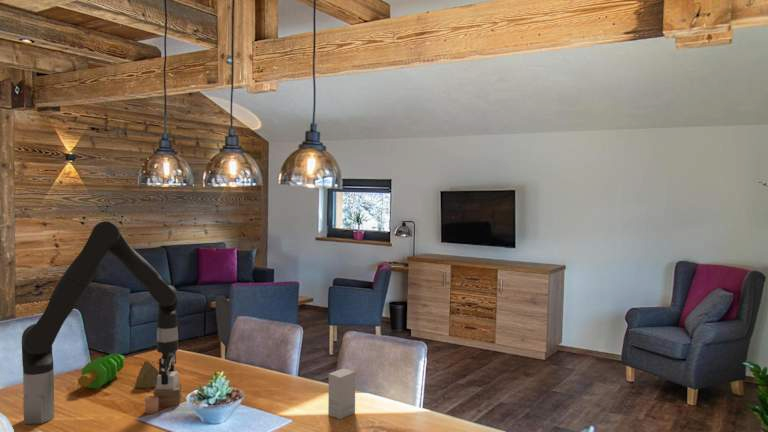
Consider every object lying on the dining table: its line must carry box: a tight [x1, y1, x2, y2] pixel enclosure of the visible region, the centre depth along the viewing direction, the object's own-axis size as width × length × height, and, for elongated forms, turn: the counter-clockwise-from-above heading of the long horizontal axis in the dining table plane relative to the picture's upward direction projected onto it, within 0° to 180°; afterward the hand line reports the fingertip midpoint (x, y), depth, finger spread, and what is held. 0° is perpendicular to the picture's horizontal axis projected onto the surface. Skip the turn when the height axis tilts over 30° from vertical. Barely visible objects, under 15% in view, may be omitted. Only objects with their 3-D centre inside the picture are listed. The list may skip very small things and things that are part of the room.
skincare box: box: [327, 367, 356, 420], centre depth 218 cm, size 8×7×16 cm
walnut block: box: [153, 381, 182, 407], centre depth 229 cm, size 9×9×6 cm
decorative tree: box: [77, 353, 125, 389], centre depth 251 cm, size 11×12×30 cm
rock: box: [134, 360, 159, 389], centre depth 245 cm, size 11×9×10 cm
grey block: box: [157, 370, 179, 389], centre depth 229 cm, size 6×6×5 cm
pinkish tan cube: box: [144, 395, 160, 415], centre depth 219 cm, size 5×5×5 cm
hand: (167, 380), depth 229 cm, fingers open, 8 cm apart
